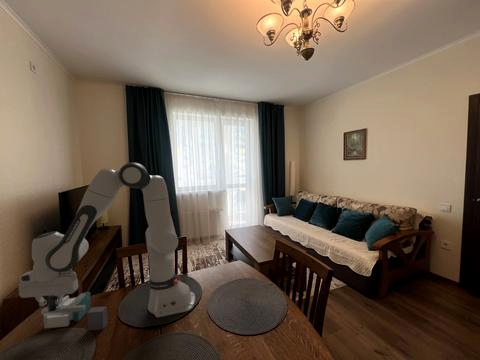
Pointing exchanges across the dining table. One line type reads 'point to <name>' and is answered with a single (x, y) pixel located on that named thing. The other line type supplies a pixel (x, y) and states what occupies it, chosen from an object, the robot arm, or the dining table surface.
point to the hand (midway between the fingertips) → (51, 304)
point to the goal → (57, 318)
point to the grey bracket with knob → (70, 306)
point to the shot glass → (67, 305)
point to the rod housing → (97, 318)
